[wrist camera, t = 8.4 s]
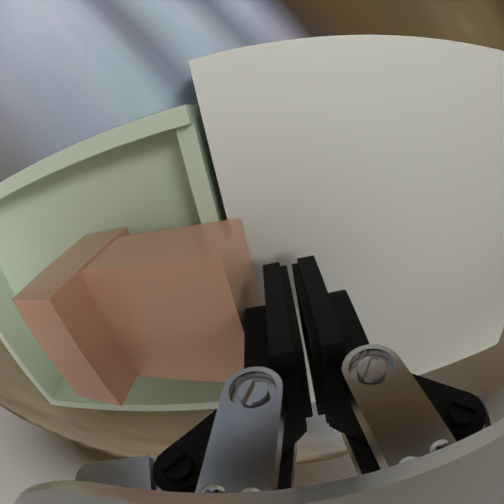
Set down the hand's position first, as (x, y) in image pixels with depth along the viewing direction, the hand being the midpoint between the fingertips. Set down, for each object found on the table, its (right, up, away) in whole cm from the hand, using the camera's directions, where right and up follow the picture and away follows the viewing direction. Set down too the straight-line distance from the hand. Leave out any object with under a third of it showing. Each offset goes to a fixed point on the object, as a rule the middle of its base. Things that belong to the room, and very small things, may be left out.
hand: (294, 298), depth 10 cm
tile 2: (-4, 0, +2) cm, 4 cm away
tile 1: (-6, -1, +1) cm, 6 cm away
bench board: (+5, +3, +3) cm, 6 cm away
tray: (-9, 0, +4) cm, 10 cm away
